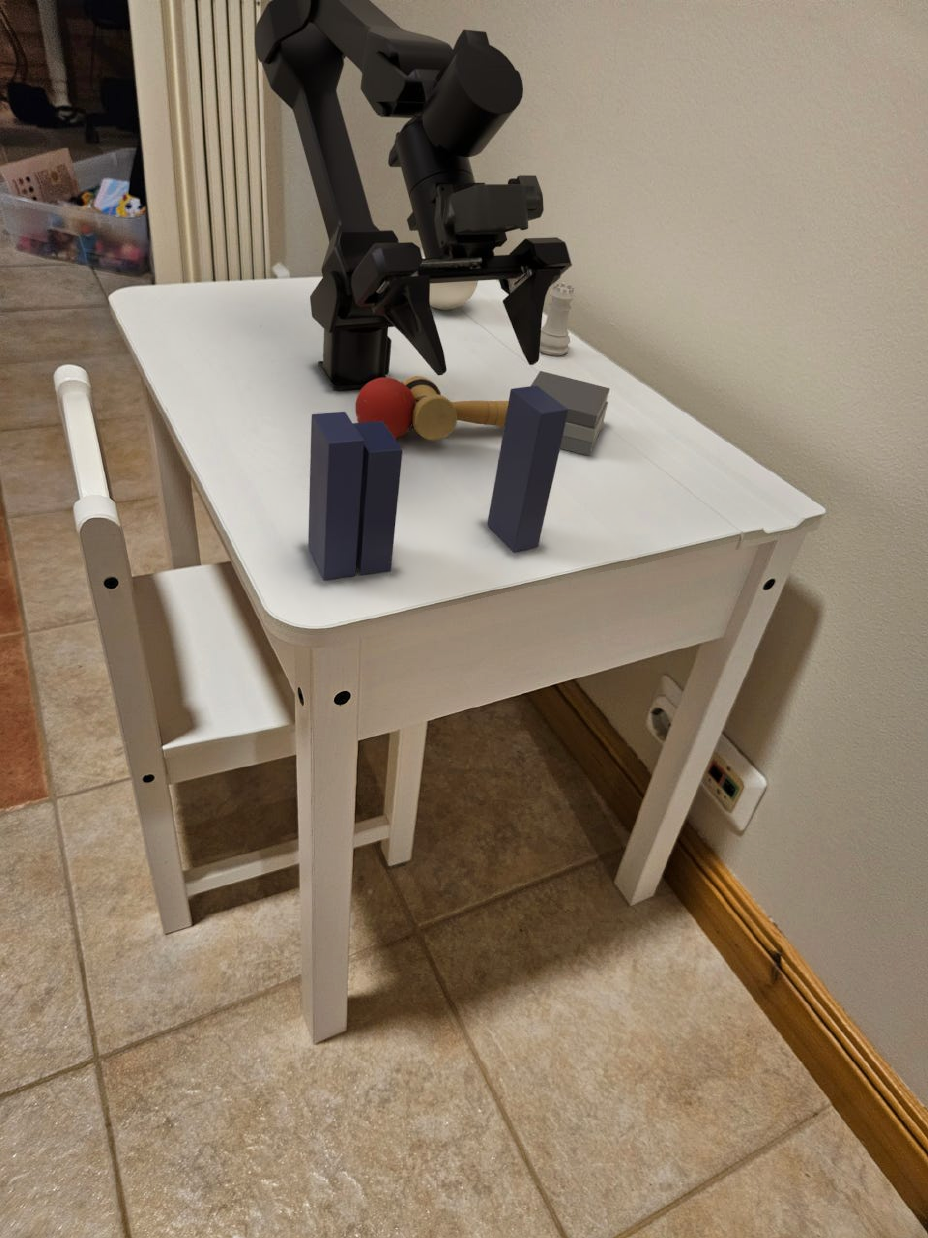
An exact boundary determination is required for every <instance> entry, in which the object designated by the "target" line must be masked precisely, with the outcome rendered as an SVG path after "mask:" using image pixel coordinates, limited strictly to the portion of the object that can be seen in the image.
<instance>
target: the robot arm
mask: <svg viewBox="0 0 928 1238" xmlns="http://www.w3.org/2000/svg"><path fill="white" fill-rule="evenodd" d="M255 25H256V26H255V28H254V50H255V54H256V57H257V59H258V61H259V63H261V65H262V68H263V71H264V74H265V76H266V79H267V81H268V84H269V87H270V89H271V90H272V92H274V93H275V94H276V95H277V96H278V98H280V99H281V101H283V102H284V103H285V104H286V105H287V107H289V108H290V109H291V110H292V112H293V116H294V120H295V124H296V126H297V130H298V135H299V137H300V141H301V145H302V149H303V152H304V155H305V159H306V162H307V166H308V170H309V172H310V177H311V180H312V183H313V184H312V185H313V187H314V191H315V196H316V198H317V202H318V205H319V209H320V213H321V217H322V220H323V224H324V227H325V231H326V234H327V238H328V239H327V240H328V246H327V248H326V252H325V255H324V259H323V262H322V266H321V269H320V270H321V275H322V277H321V280H320V281H319V282H318V284H317V285H316V287H315V288H314V290H313V292H312V293H311V294H310V295H309V296H310V298H309V301H310V310H311V317H312V319H313V320H315V321H316V322H317V323H318V324H319V325H320V326H321V327H322V328H323V345H322V346H323V347H322V349H323V350H322V360H318V361H317V367H318V368H319V371H320V372H321V374H322V375H323V376H324V377H325V379H326V380H327V382H328V383H329V385H330V386H331V388H332V389H333V390H353V389H362V388H363V387H364V386H365V385H366V384H367V383H368V382H370V381H372V380H374V379H377V378H383V377H387V376H388V374H389V373H390V364H391V352H392V342H393V341H392V338H391V337H390V336H389V328H396V330H397V331H399V333H400V334H402V335H403V337H404V338H405V339H406V340H407V341H408V342H409V343H410V345H412V347H413V348H414V349H415V350H416V351H417V352H418V354H419V355H420V356H421V357H422V359H423V360H424V361H425V362H426V364H427V365H428V366H429V367H430V368H431V369H432V371H433V372H434V373H435V375H437V376H439V377H440V376H443V375H444V374H445V373H447V363H446V357H445V352H444V348H443V345H442V342H441V338H440V335H439V331H438V327H437V324H436V321H435V317H434V314H433V310H432V308H431V307H432V306H430V284H432V283H448V282H465V281H478V282H481V281H482V282H483V281H497V280H498V282H499V285H500V289H501V290H502V291H504V292H505V293H506V294H507V296H506V297H505V298H504V299H502V304H503V307H504V309H505V311H506V314H507V316H508V319H509V322H510V324H511V327H512V330H513V332H514V334H515V337H516V339H517V342H518V344H519V347H520V349H521V352H522V354H523V356H524V358H525V360H526V361H527V363H528V365H530V366H534V365H536V363H538V362H539V360H540V354H541V353H540V352H541V351H540V340H541V330H542V327H543V326H542V325H543V315H544V307H545V302H546V297H547V294H548V292H549V289H550V288H551V287H552V286H554V284H555V283H557V282H558V281H559V280H560V279H561V276H562V275H563V274H564V273H565V272H567V270H569V269H570V268H572V266H573V263H572V260H571V255H570V252H569V249H568V245H567V243H566V241H564V240H562V239H561V238H559V237H556V236H554V237H553V236H551V237H527V238H523V240H522V241H521V242H520V243H519V244H518V245H517V246H516V247H515V248H514V249H513V250H512V251H511V252H510V253H509V254H498V255H495V252H494V250H495V249H496V248H501V247H502V246H503V245H505V243H506V242H507V241H508V237H507V233H508V232H512V231H515V230H520V231H525V230H528V229H529V221H533V220H536V219H540V218H542V215H543V213H544V210H545V209H544V207H545V206H544V194H543V191H542V188H541V185H540V183H539V180H538V177H537V175H535V174H534V175H533V174H532V175H528V174H527V175H525V174H523V175H521V174H520V175H518V176H516V178H514V177H513V178H512V177H511V178H509V179H508V181H507V183H503V184H502V183H487V184H486V182H476V179H475V176H474V172H473V169H472V165H471V162H470V158H472V157H475V156H478V155H479V154H481V153H482V152H483V151H484V150H485V148H486V147H487V146H488V145H489V143H491V141H492V140H493V139H494V137H495V136H496V135H497V133H498V132H499V131H500V129H501V128H502V127H503V126H504V125H505V123H506V122H507V121H508V120H509V118H510V117H511V115H512V114H513V113H514V111H516V109H518V107H519V106H520V104H521V102H522V99H523V94H524V85H523V84H524V83H523V79H522V75H521V73H520V71H518V70H517V69H516V67H515V66H514V64H513V63H512V61H511V60H510V59H509V58H508V56H507V55H506V54H504V53H503V52H502V51H501V50H499V49H498V48H496V47H494V46H493V45H491V44H490V41H489V37H488V32H487V31H485V30H473V29H462V31H461V32H460V34H459V36H458V37H457V39H456V41H455V44H454V45H453V47H452V46H451V44H450V43H448V42H446V41H443V40H441V39H438V38H435V37H434V36H430V35H426V34H423V33H418V32H414V31H410V30H407V29H404V28H401V27H400V26H399V25H398V24H397V22H395V21H394V20H393V19H392V18H390V17H389V16H388V15H387V14H386V13H384V11H382V10H381V8H379V7H378V6H377V5H376V4H375V3H373V2H372V1H371V0H270V1H268V3H267V4H266V6H265V7H264V9H263V11H262V13H261V15H260V18H259V19H258V21H257V23H256V24H255ZM346 58H347V59H348V60H349V61H350V62H351V63H352V64H354V66H355V67H356V68H358V70H359V71H360V72H361V79H360V90H361V92H362V94H363V96H364V97H365V99H366V100H367V102H368V103H369V105H370V107H371V108H372V110H373V111H374V113H376V116H378V117H381V118H393V119H394V118H395V119H409V120H407V121H406V122H405V124H404V125H403V126H402V128H401V130H400V131H398V132H396V134H395V140H394V143H393V145H392V147H391V148H390V150H389V153H388V161H387V164H388V166H389V167H390V168H400V170H401V173H402V176H403V181H404V184H405V187H406V191H407V195H408V199H409V203H410V206H411V210H412V212H411V213H410V214H409V216H408V217H407V218H406V222H407V226H408V229H409V232H414V231H416V232H417V233H418V236H419V241H420V243H421V247H422V248H423V252H424V255H425V259H423V258H422V255H421V251H420V250H421V249H422V248H421V247H420V246H418V245H417V244H416V243H414V242H413V241H407V242H399V238H398V236H397V235H396V233H395V231H394V230H391V229H390V230H389V229H388V230H385V229H383V230H380V228H378V227H377V225H375V223H374V220H373V217H372V214H371V210H370V207H369V203H368V199H367V196H366V193H365V189H364V185H363V181H362V178H361V174H360V171H359V167H358V164H357V161H356V155H355V152H354V149H353V146H352V145H353V144H352V141H351V139H350V138H351V137H350V135H349V131H348V128H347V125H346V122H345V117H344V114H343V110H342V107H341V103H340V100H339V95H338V92H337V90H338V86H339V83H340V79H341V76H342V73H343V70H344V67H345V59H346Z"/></svg>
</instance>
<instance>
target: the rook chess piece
mask: <svg viewBox="0 0 928 1238" xmlns="http://www.w3.org/2000/svg"><path fill="white" fill-rule="evenodd" d="M565 285H566V283H565V282H560V283H559V282H555V283H554V284H553V287H552V288H551V290H549V295H550V297H551V301H550V303H548V306H549V310H548V315H547V317H546V320H545V323H544V325H543V326H542V327H541V340H540V352H541V353H543V354H545V355H549V356H556V357H557V356H563V355H566V354H567V353H568V351H569V350H570V346H569V345H570V344H571V338H570V335H569V333H570V332H569V330H568V321H569V313H570V311H571V309H572V307H571V306H572V305H571V303H572V301H573V300H574V299H576V294H575V287H574V286H573V285H572V284H569V283H568V284H567V286H565Z"/></svg>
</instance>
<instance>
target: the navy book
mask: <svg viewBox="0 0 928 1238" xmlns="http://www.w3.org/2000/svg"><path fill="white" fill-rule="evenodd" d="M508 401H509V402H508V408H507V414H506V420H505V425H504V427H503V430H502V436H501V444H500V449H499V454H498V460H497V464H496V465H497V466H496V472H495V477H494V481H493V482H494V483H493V487H492V488H493V489H492V494H491V499H490V506H489V512H488V517H487V523H486V526H487V527H488V528H489V529H490V530H491V531H492V532H493V533H494V534H495V535H496V536H497V537H498V538H499V539H500V541H502V542H503V543H504V544H505V545H506V546H507V547H508V548H509V549H510V551H512V553H517V552H523V551H526V550H530V549H534V548H538V547H539V545H540V540H541V537H542V532H543V527H544V522H545V517H546V513H547V508H548V505H549V504H548V503H549V500H550V495H551V492H552V491H551V490H552V486H553V482H554V477H555V473H556V468H557V465H558V464H557V463H558V459H559V454H560V450H561V448H560V446H561V442H562V437H563V433H564V428H565V424H566V419H567V415H568V409H567V408H566V407H564V406H563V405H562V404H561V403H559V402H558V401H557V400H555V399H554V398H553V397H551V396H550V395H549V394H548V393H546V392H545V391H544V390H542V389H541V388H540V387H538V386H537V385H536V386H531V385H530V386H521V387H513V388H510V391H509V397H508Z"/></svg>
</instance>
